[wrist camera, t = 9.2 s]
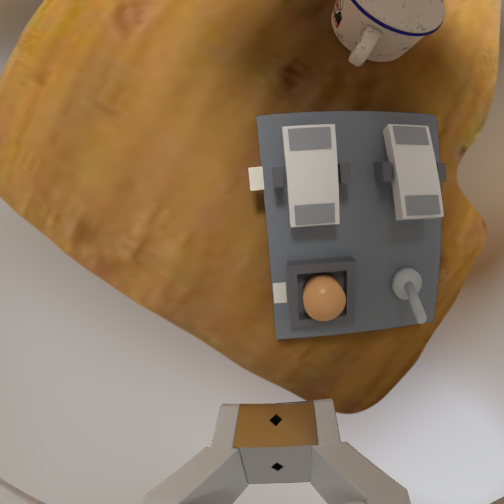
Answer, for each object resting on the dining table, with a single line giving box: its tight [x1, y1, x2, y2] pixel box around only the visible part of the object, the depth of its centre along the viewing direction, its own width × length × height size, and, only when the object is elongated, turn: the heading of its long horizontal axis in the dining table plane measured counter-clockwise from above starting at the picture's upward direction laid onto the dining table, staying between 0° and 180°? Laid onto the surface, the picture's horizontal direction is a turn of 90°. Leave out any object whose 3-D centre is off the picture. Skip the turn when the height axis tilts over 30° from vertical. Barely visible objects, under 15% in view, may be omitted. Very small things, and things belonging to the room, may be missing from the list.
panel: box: [248, 111, 446, 339], centre depth 26 cm, size 21×18×8 cm
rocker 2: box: [383, 124, 444, 221], centre depth 23 cm, size 8×4×2 cm, turn 6°
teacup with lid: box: [331, 0, 445, 66], centre depth 19 cm, size 12×9×12 cm
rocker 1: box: [282, 124, 340, 227], centre depth 24 cm, size 8×4×2 cm, turn 5°
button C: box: [302, 273, 346, 321], centre depth 27 cm, size 4×4×2 cm
